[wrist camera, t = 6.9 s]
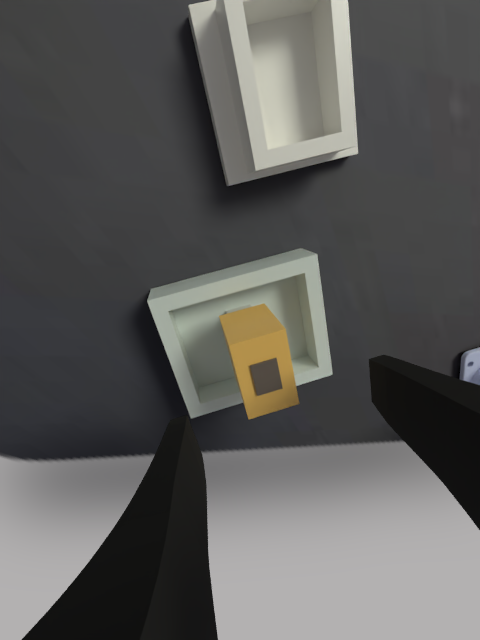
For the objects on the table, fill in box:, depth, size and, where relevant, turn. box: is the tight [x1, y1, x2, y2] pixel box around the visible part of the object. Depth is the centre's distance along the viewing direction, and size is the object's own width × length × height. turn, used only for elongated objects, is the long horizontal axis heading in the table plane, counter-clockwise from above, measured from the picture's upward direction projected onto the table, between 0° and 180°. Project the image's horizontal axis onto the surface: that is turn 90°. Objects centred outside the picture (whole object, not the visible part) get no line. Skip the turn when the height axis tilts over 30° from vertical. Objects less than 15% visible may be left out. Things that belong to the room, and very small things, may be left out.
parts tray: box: [147, 248, 333, 419], centre depth 18 cm, size 8×9×2 cm
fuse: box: [219, 303, 299, 419], centre depth 16 cm, size 4×2×6 cm, turn 13°
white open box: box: [188, 0, 358, 186], centre depth 14 cm, size 7×7×3 cm
